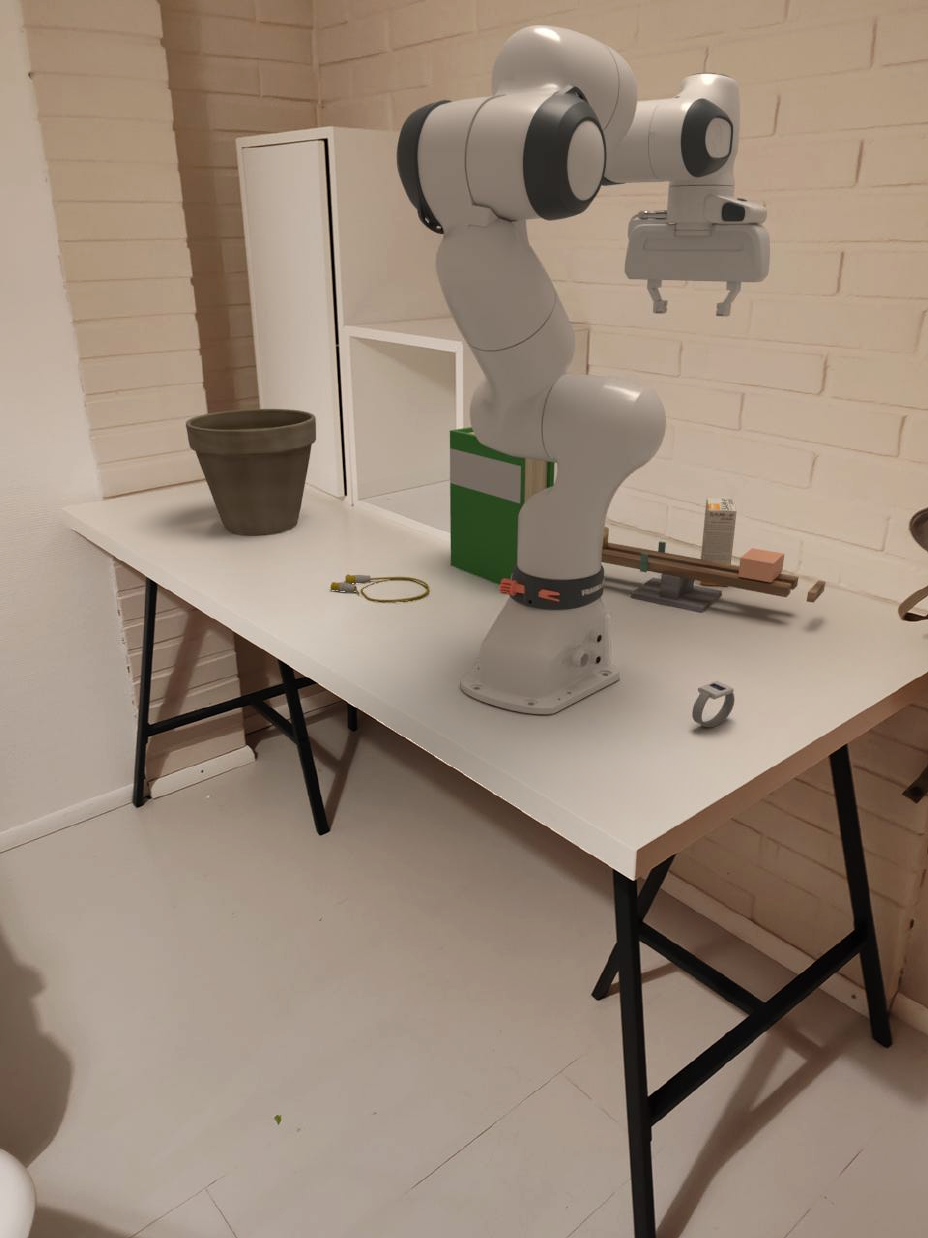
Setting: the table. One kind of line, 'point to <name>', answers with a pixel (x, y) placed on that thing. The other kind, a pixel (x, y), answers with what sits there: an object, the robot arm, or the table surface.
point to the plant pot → (255, 465)
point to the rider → (761, 565)
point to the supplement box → (718, 531)
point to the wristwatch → (714, 692)
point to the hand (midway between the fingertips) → (690, 314)
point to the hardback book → (489, 504)
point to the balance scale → (691, 577)
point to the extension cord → (363, 579)
